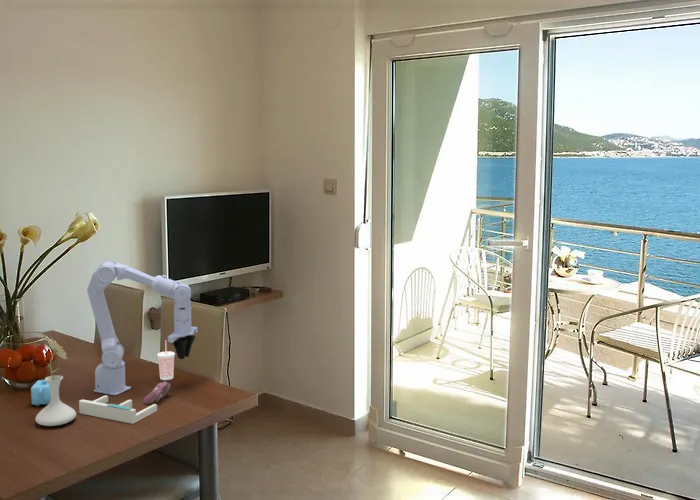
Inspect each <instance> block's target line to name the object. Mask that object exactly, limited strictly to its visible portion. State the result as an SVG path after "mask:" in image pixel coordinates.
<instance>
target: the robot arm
mask: <svg viewBox="0 0 700 500" xmlns="http://www.w3.org/2000/svg"><path fill="white" fill-rule="evenodd" d="M115 279H116V281H122V280H125V279H127V280H131V281H134V282H136V283H140V284H143V285H146V286H149V287H150V288H151V291H152V292H153V293H154V292H155V293H157V294H160V295H163V296H166V297H168V298H173V300H174V305H173V323H174V324H173V325H174V327H173V328H174V331H173V332H172V333H171V334H169V335H168V336H167V342H168V343H171V344H172V345H173V346H174V349H175V351H176V355H177V358H178V359H180V360H184V359H185V357H186V358H189V356H190V354H191V349H192V346H193V343H194V341H195V339H196V335H195V334H196V333H198V331H199V330H198V329H199V328H198V326H192V305H191V302H192V301H191V298H192V291H191V287H190V285H188V284H187V283H185V282H183V281H182V282H181V281H180V280H176V281H175V280H173V279H171V278H168V277H167V275H166V274H163V275H160V274H159V275H156V276H152V275H149V274H147V273H145V272H142V271H140V270H138V269H137V268H133V267H131V266H129V265H126V264H123V263H121V262H115V261H114V260H108V259H107V260H104V261H103V262H101V263H100V264H99V266H98V267H97V268H96V269H95V270H94V272H93V273H92V275H91V278H90V281H89V284H88V286H87V290H86V292H87V295H88V299H89V303H90V306H91V309H92V312H93V313H92V314H93V315H94V316H93V317H94V320H95V324H96V326H97V327H96V328H97V331H98V334H99V338H100V341H101V342H100V343H101V350H102V355H101V363H99V364H98V365H97V366H96V368H95V370H94V371H95V372H94V382H95V383H94V384H95V385H94V386H95V389H94V390H93V392H94V393H99V394H105V395H111V396H117V395H118V396H119V395H120V394H122V393H124V392H126V391H128V390H130V389H132V387H131V386H127V385H126V365H125V364H126V362H124V360H123V357H124V355H125V348H124V346H123V345H122V344H121V343H120V341H119V338H118V337H117V335H116V331H115V328H114V324H113V321H112V317H111V314H110V310H109V306H108V303H107V300H106V296H105V292H104V290H106V288H107V287H108V285H110V284H111V283H112V282H114V281H115Z"/></svg>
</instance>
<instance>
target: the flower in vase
mask: <svg viewBox="0 0 700 500" xmlns="http://www.w3.org/2000/svg"><path fill="white" fill-rule="evenodd" d="M47 343H48V345H49V347H50V348H51V350H52V351H53V352H52V355H51V357H50V361H49V363H47V367H48V368H49V369H50V374H51V375H50V376H46V377H45V378H44V380H46V381H47V382H48V384H49V387H50V391H51V401H50V403H49V404H48V405H47V404H46V406H45V407H44V408H42V410H39V412H38V413H37V414H36V416H35V423H37V424H38V425H40V426H45V427H54V426H61V425H64V424H67V423H69V422H72V421H73V420H75V418H76V417H77V412H76V410H75V409H74V408H73V407H71V406H69V405H68V404H66V403H64V402H62V401H61V399H60V385H61V382H62V381H63V379H64V376H63V375H61V374H60V375H59V374H58V375H57V374H55V375H54V372H56V371H58V370H60V368H59V367H57V368H56V369H55V370H54V369H52V361H53V357H54V356H55V354H56V355H57V356H58V357H60V358H61V359H63V360H68V357H67V355H68V354H67V353H66V352H65V349H63V348H64V347H63V346H62V345H60V344H58V342H57V341H56V340H55V339H54V340H53V338H50V339H48V340H47Z"/></svg>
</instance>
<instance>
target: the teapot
mask: <svg viewBox="0 0 700 500" xmlns="http://www.w3.org/2000/svg"><path fill="white" fill-rule="evenodd" d="M30 394H31V395H30V397H31V398H30V399H31V405H35V406H36V407H39V406H40V405H46V406H47V405H48V404H49V403H50V401H51V391H50V387H49V384H48V382H47V381H46V380H45V379H41V380H40V379H39V380H37V381H36V382H35V383H34V384H33V385H32V386H31V387H30Z"/></svg>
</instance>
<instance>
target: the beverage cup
mask: <svg viewBox="0 0 700 500" xmlns="http://www.w3.org/2000/svg"><path fill="white" fill-rule="evenodd" d="M167 342H168V341H167V340H166V339H165V340H164V346H165V347H164V349H165V351H161V352H158V353H156V354H157V355H156V356H157V357H156V358H157V359H158V369H159V370H158V371H159V378H160V380H162V381H169V380H172V379H174V369H175V366H174V365H175V356H176V353H175V352H174V351H170V350H169V351H168V349H167V345H168V344H167Z"/></svg>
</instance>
